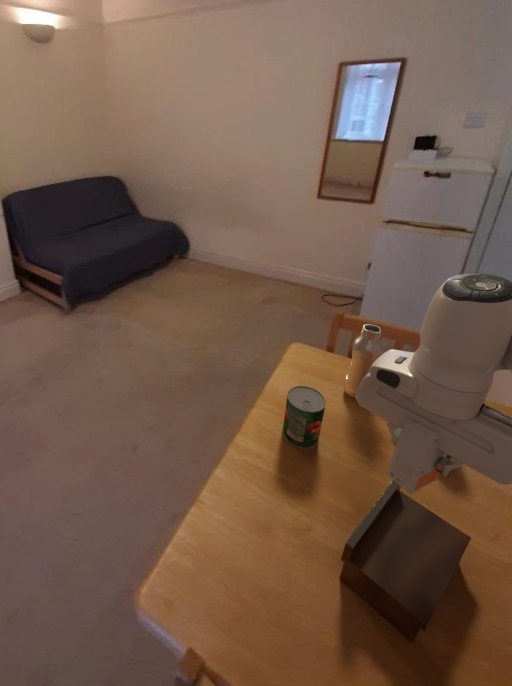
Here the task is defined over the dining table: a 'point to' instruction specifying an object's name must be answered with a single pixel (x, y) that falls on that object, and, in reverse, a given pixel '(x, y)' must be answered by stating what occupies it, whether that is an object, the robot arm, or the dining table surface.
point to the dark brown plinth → (402, 560)
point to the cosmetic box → (415, 457)
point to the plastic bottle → (363, 357)
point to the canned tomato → (303, 416)
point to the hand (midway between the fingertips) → (418, 457)
